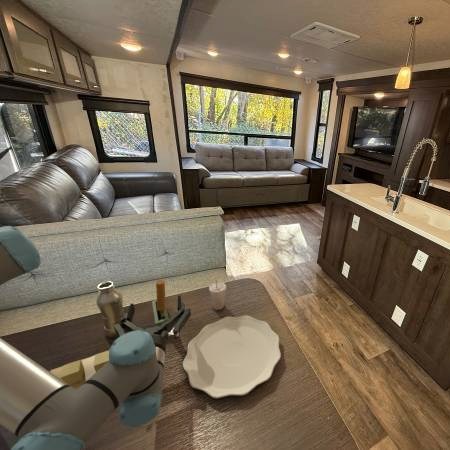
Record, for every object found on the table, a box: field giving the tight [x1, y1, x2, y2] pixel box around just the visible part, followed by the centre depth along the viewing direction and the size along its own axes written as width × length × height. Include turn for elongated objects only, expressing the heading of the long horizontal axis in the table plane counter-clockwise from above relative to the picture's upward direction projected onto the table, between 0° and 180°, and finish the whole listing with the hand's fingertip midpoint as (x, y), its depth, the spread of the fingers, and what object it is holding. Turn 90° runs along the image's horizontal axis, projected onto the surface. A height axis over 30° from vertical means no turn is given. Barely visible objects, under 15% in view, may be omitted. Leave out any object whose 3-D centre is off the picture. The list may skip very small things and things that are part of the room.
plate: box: [182, 315, 282, 399], centre depth 79 cm, size 29×29×2 cm
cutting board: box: [49, 355, 96, 389], centre depth 69 cm, size 11×18×2 cm, turn 123°
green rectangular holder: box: [151, 299, 170, 326], centre depth 88 cm, size 12×4×6 cm, turn 33°
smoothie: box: [208, 277, 227, 311], centre depth 96 cm, size 6×6×14 cm
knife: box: [155, 279, 167, 320], centre depth 86 cm, size 8×3×17 cm, turn 33°
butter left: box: [61, 359, 84, 385], centre depth 67 cm, size 4×4×4 cm
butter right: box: [94, 350, 109, 372], centre depth 70 cm, size 4×4×4 cm
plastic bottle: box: [95, 281, 128, 339], centre depth 79 cm, size 6×7×20 cm
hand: (157, 302), depth 82 cm, fingers open, 13 cm apart
